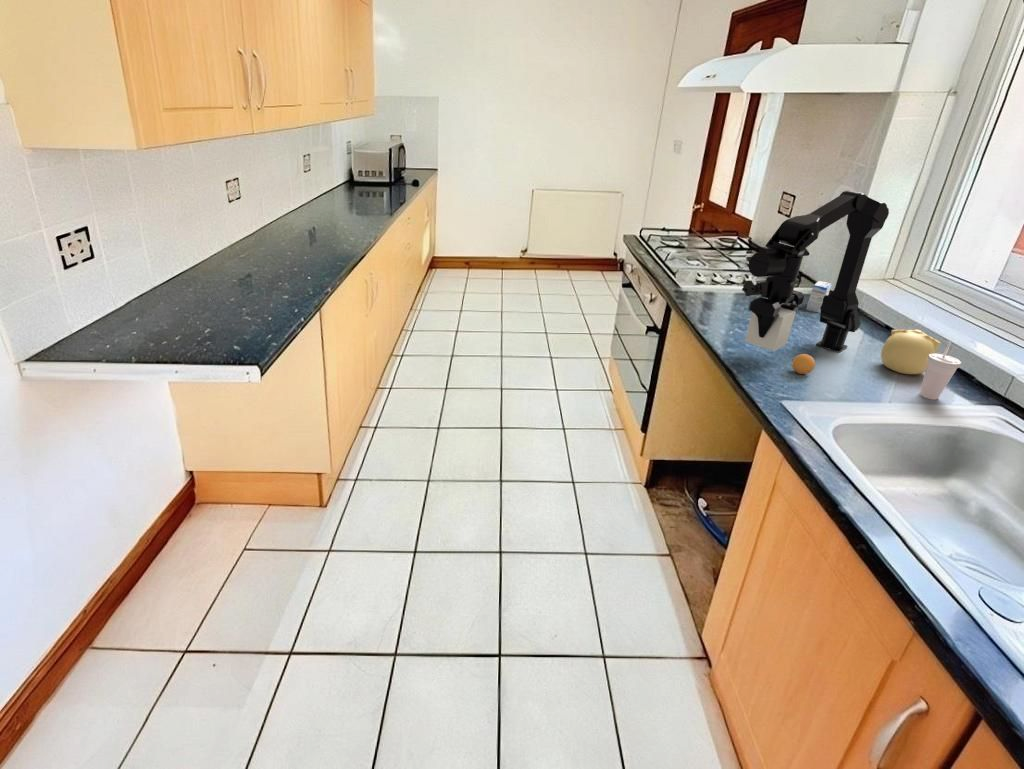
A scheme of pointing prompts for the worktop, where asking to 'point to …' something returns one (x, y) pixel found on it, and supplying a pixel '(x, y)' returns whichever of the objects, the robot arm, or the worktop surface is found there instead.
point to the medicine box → (818, 296)
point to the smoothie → (938, 373)
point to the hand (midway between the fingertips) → (768, 333)
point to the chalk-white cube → (771, 331)
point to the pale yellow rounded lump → (908, 351)
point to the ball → (803, 364)
